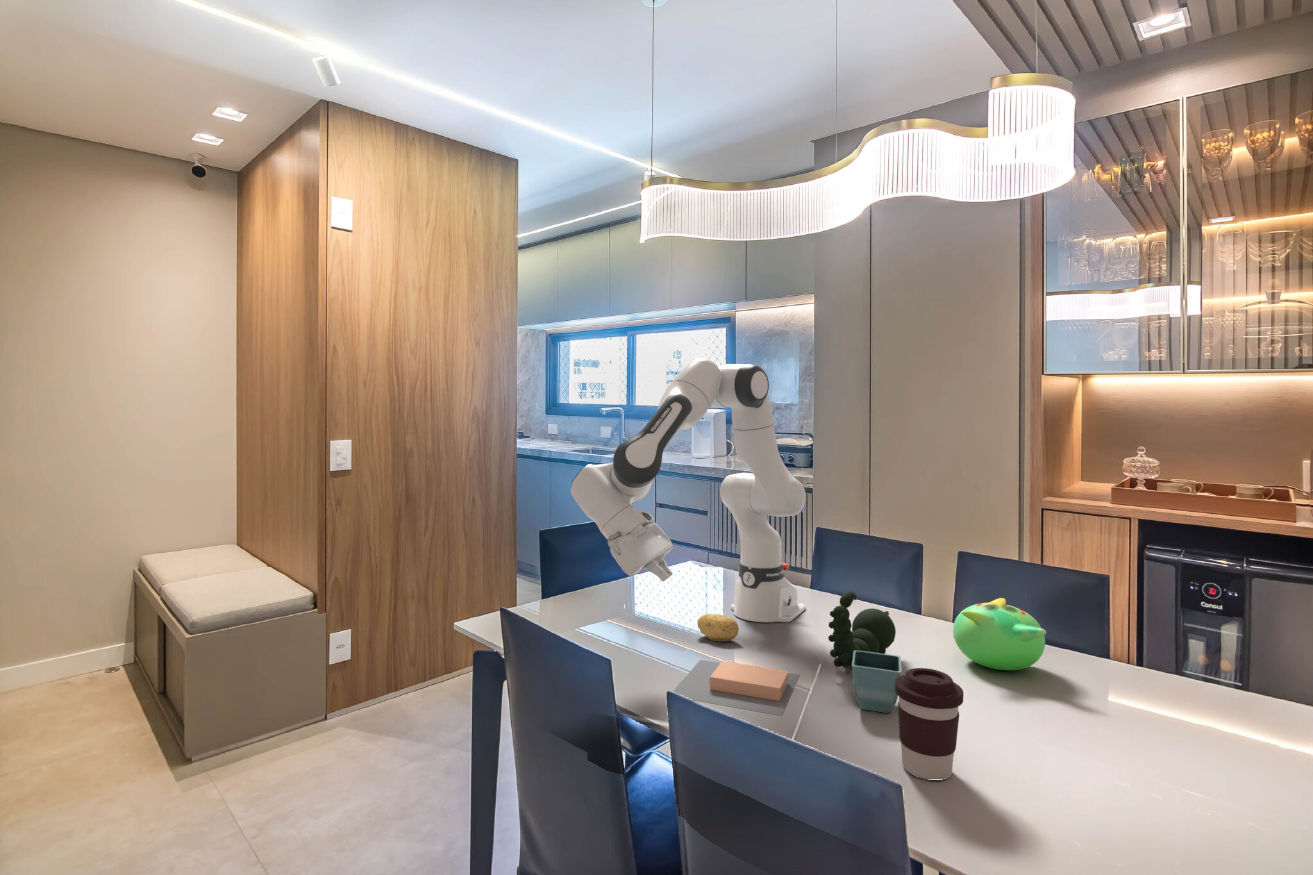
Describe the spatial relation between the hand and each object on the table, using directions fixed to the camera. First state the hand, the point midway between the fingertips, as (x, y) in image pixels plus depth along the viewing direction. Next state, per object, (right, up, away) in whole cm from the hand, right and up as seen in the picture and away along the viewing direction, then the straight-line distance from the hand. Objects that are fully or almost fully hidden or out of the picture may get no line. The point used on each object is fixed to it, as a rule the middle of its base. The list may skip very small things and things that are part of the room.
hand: (668, 577), depth 137 cm
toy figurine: (+44, -21, +9) cm, 49 cm away
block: (+10, -19, -3) cm, 22 cm away
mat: (+14, -21, -5) cm, 26 cm away
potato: (+13, -20, +23) cm, 33 cm away
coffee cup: (+40, -23, -35) cm, 58 cm away
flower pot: (+39, -22, -13) cm, 47 cm away
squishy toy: (+73, -21, +7) cm, 76 cm away
